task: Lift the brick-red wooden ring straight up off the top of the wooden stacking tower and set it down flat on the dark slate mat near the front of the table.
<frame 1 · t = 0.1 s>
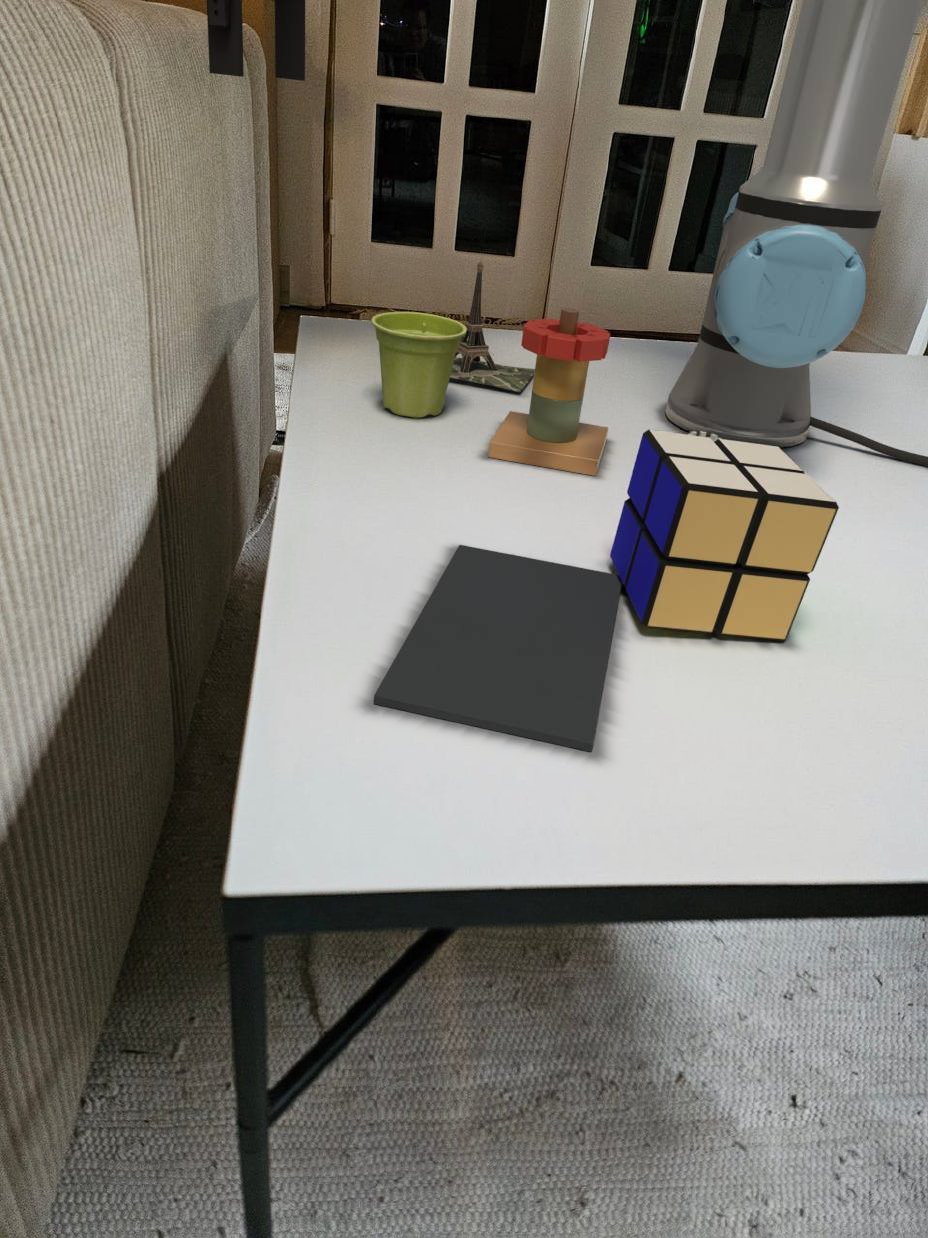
hand: (260, 77, 82), 28 cm above the table, tool pointing down, fingers open, 13 cm apart
slate mat: (514, 635, 57), on the table
puzzle cube: (691, 601, 63), on the table, touching slate mat
rook chess piece: (681, 533, 73), on the table
red ring: (564, 349, 82), point 9 cm above the table, touching stack tower
stack tower: (549, 449, 87), on the table
plant pot: (413, 410, 94), on the table
eiffel tower figurine: (466, 375, 107), on the table
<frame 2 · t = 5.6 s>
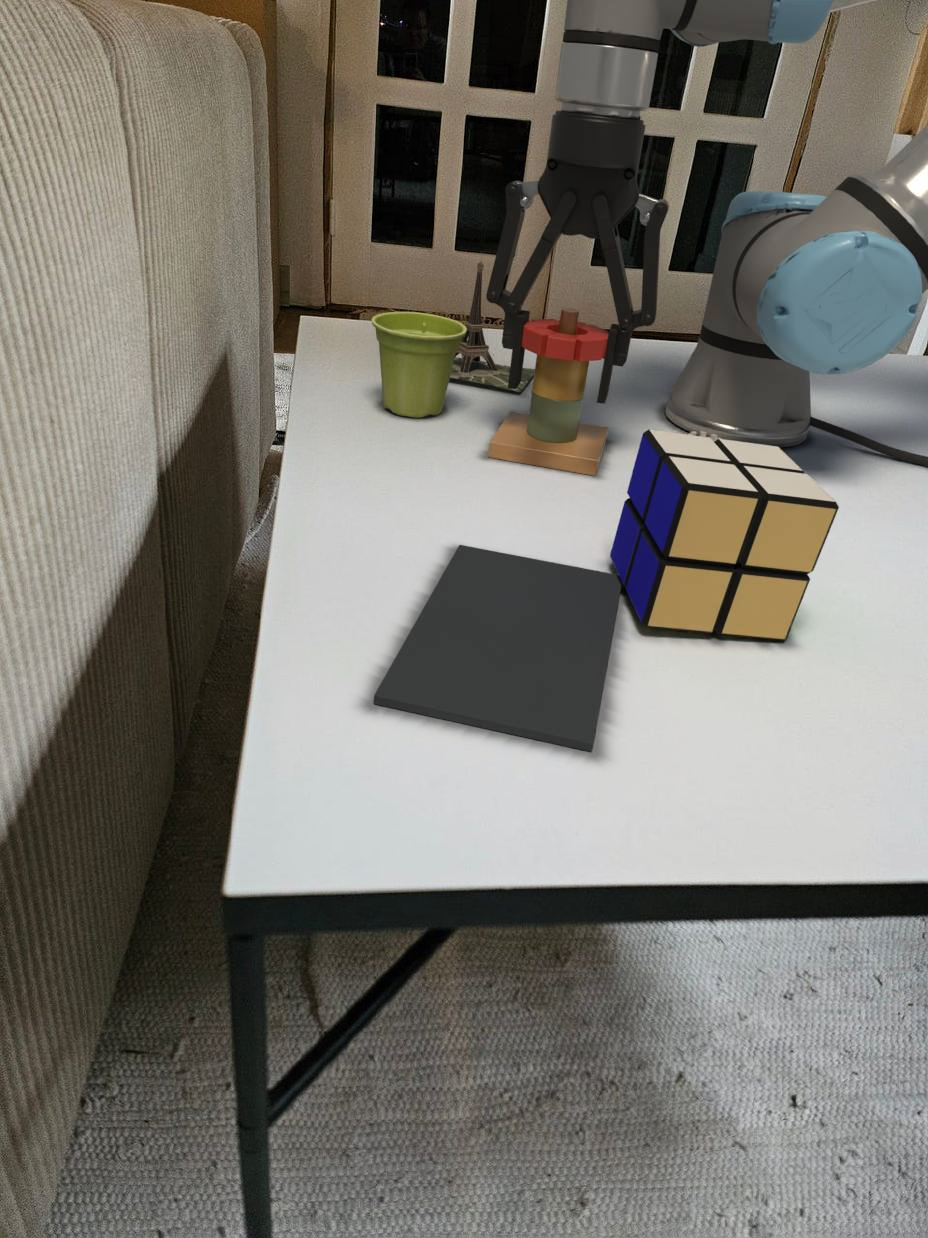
hand: (558, 391, 84), 6 cm above the table, tool pointing down, fingers closed on red ring, 8 cm apart
red ring: (564, 349, 82), point 10 cm above the table, touching gripper, stack tower
everything else where it was.
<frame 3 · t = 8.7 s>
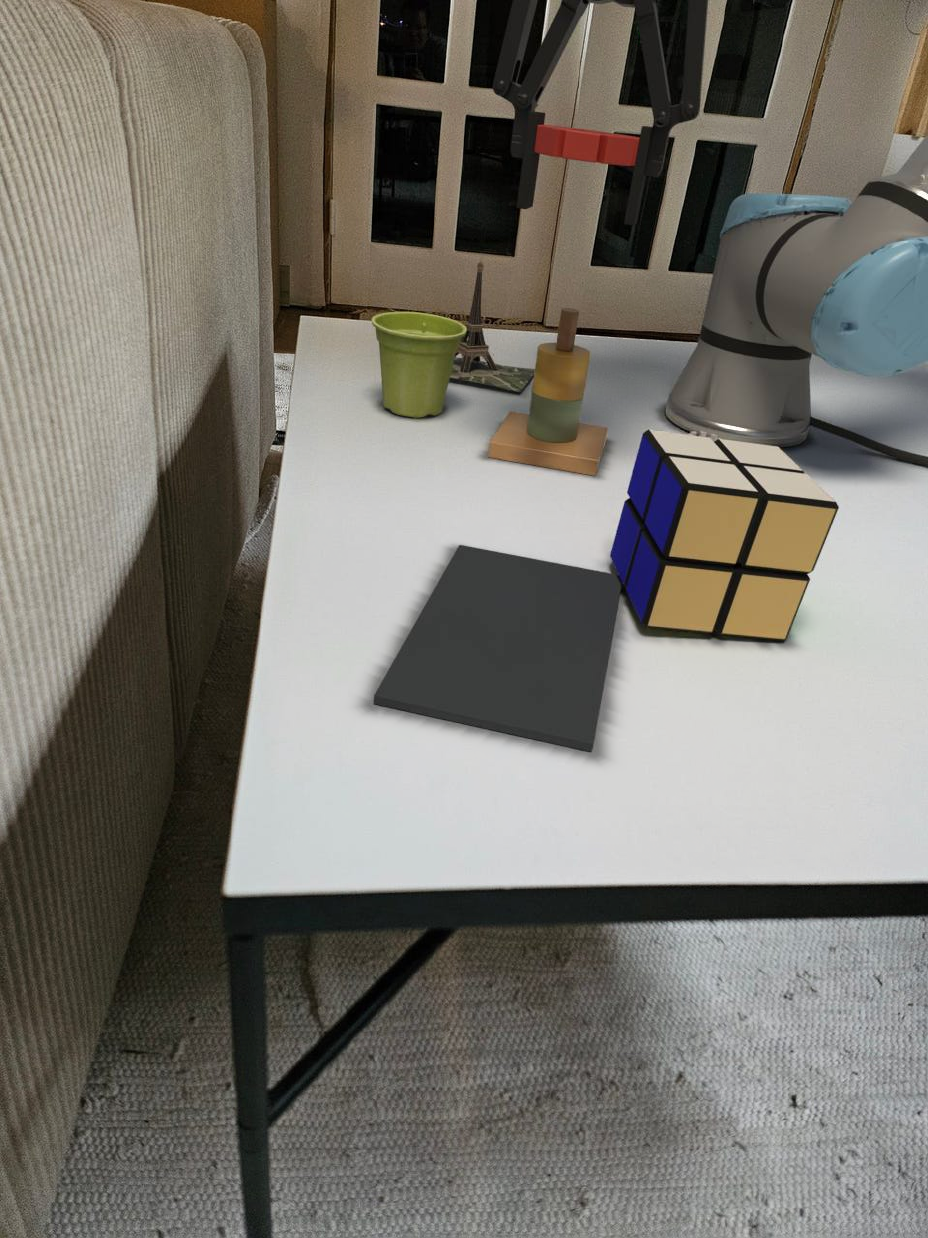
hand: (577, 214, 70), 22 cm above the table, tool pointing down, fingers closed on red ring, 8 cm apart
red ring: (586, 158, 68), point 25 cm above the table, touching gripper
everything else where it was.
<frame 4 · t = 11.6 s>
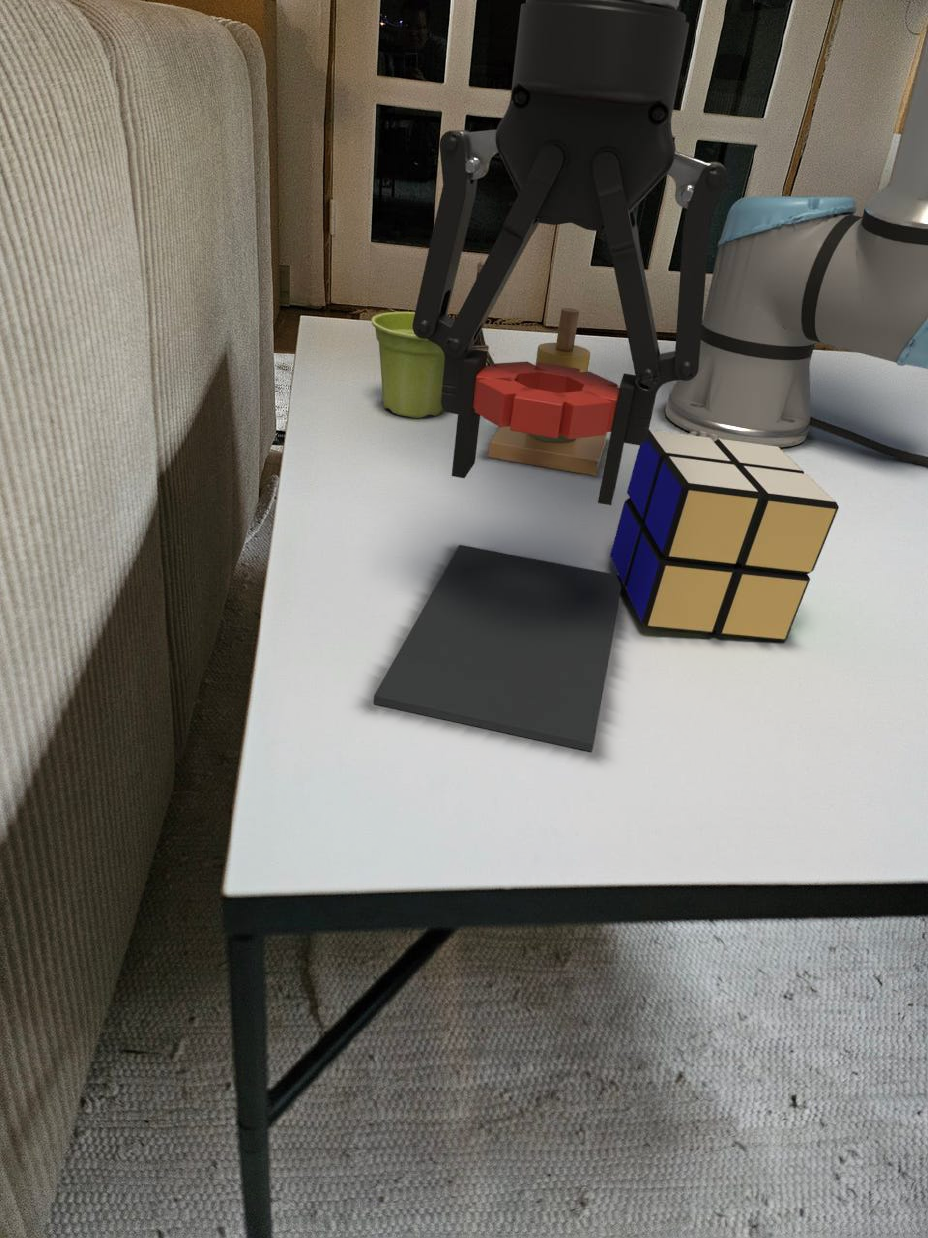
hand: (534, 481, 52), 10 cm above the table, tool pointing down, fingers closed on red ring, 8 cm apart
red ring: (544, 414, 50), point 14 cm above the table, touching gripper
everything else where it was.
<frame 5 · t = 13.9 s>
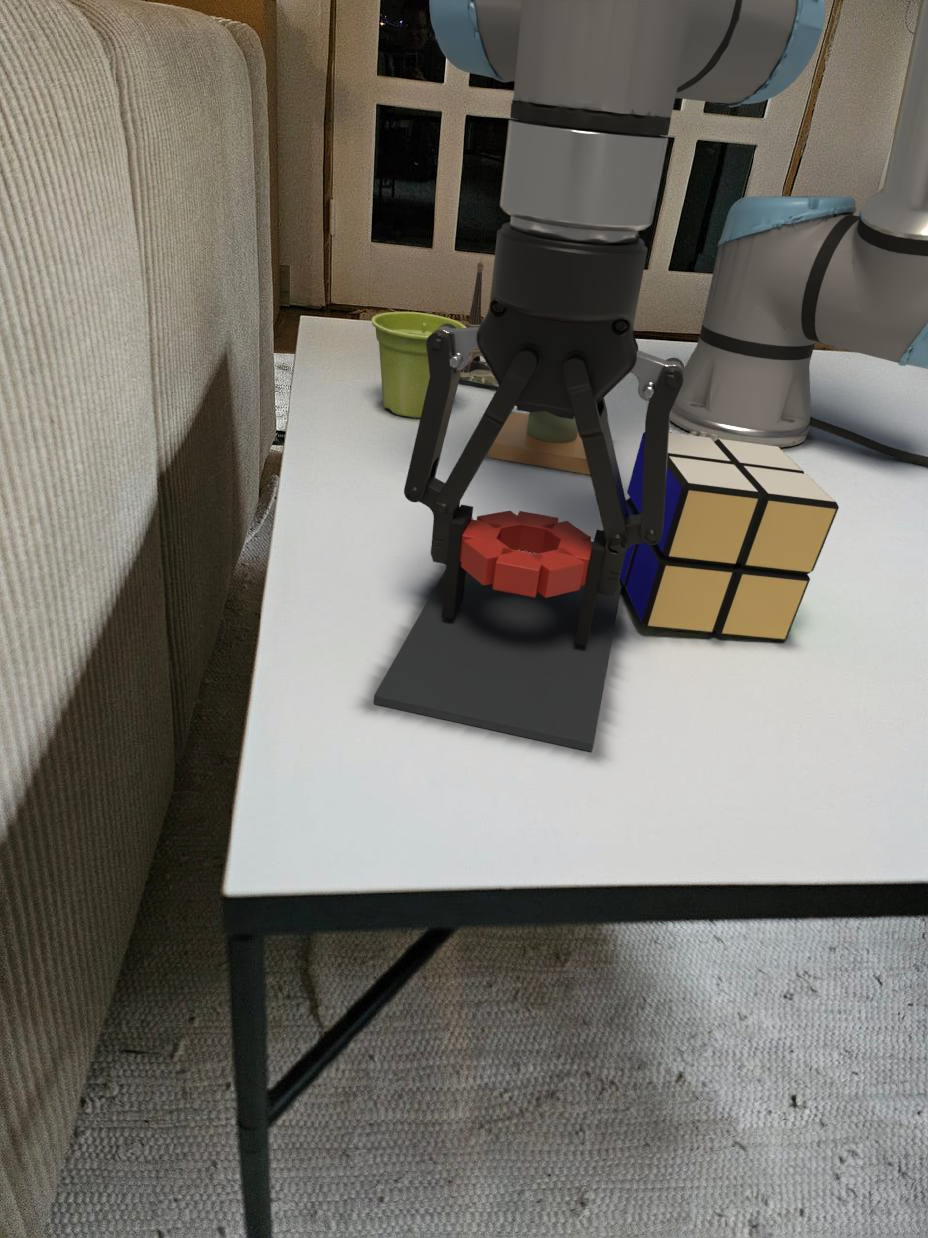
hand: (517, 620, 57), 1 cm above the table, tool pointing down, fingers closed on red ring, 8 cm apart
red ring: (525, 565, 55), point 5 cm above the table, touching gripper
everything else where it was.
when the fingers open (1 cm above the table, at t = 17.4 s): red ring drops 4 cm, resting on slate mat.
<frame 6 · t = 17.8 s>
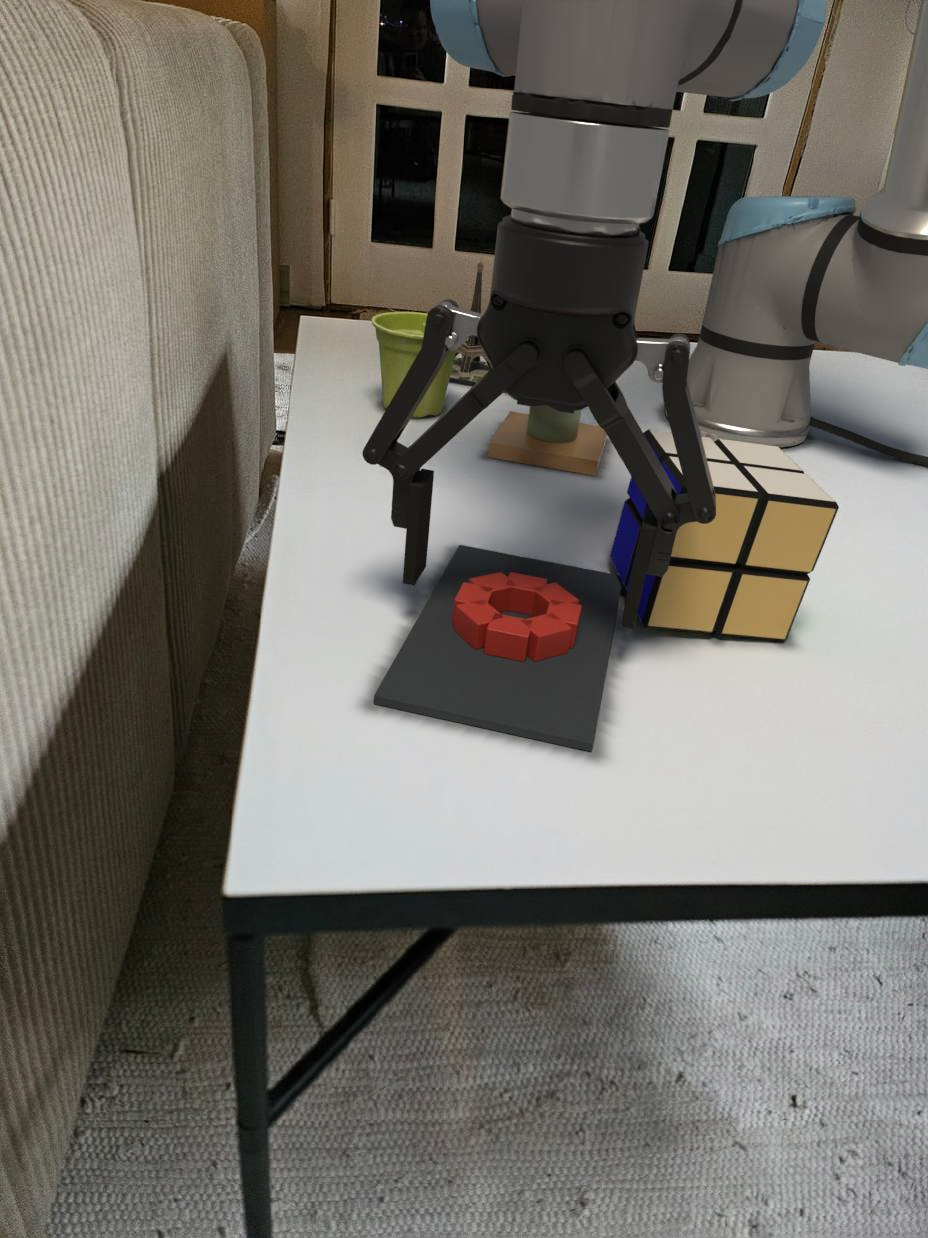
hand: (519, 596, 56), 3 cm above the table, tool pointing down, fingers open, 13 cm apart
red ring: (515, 627, 57), point 1 cm above the table, touching slate mat
everything else where it was.
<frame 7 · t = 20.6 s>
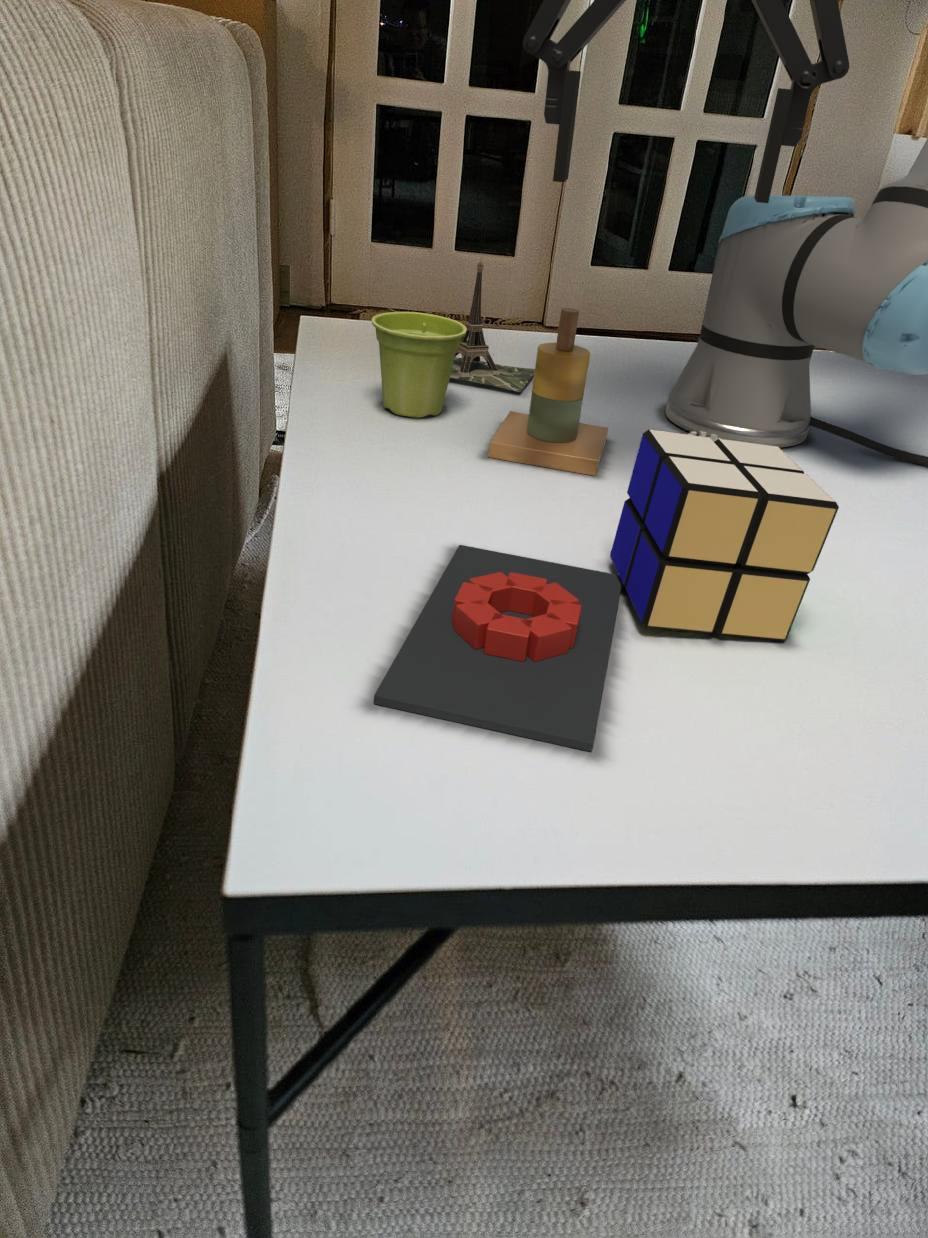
hand: (659, 190, 62), 24 cm above the table, tool pointing down, fingers open, 13 cm apart
nothing on the table moved.
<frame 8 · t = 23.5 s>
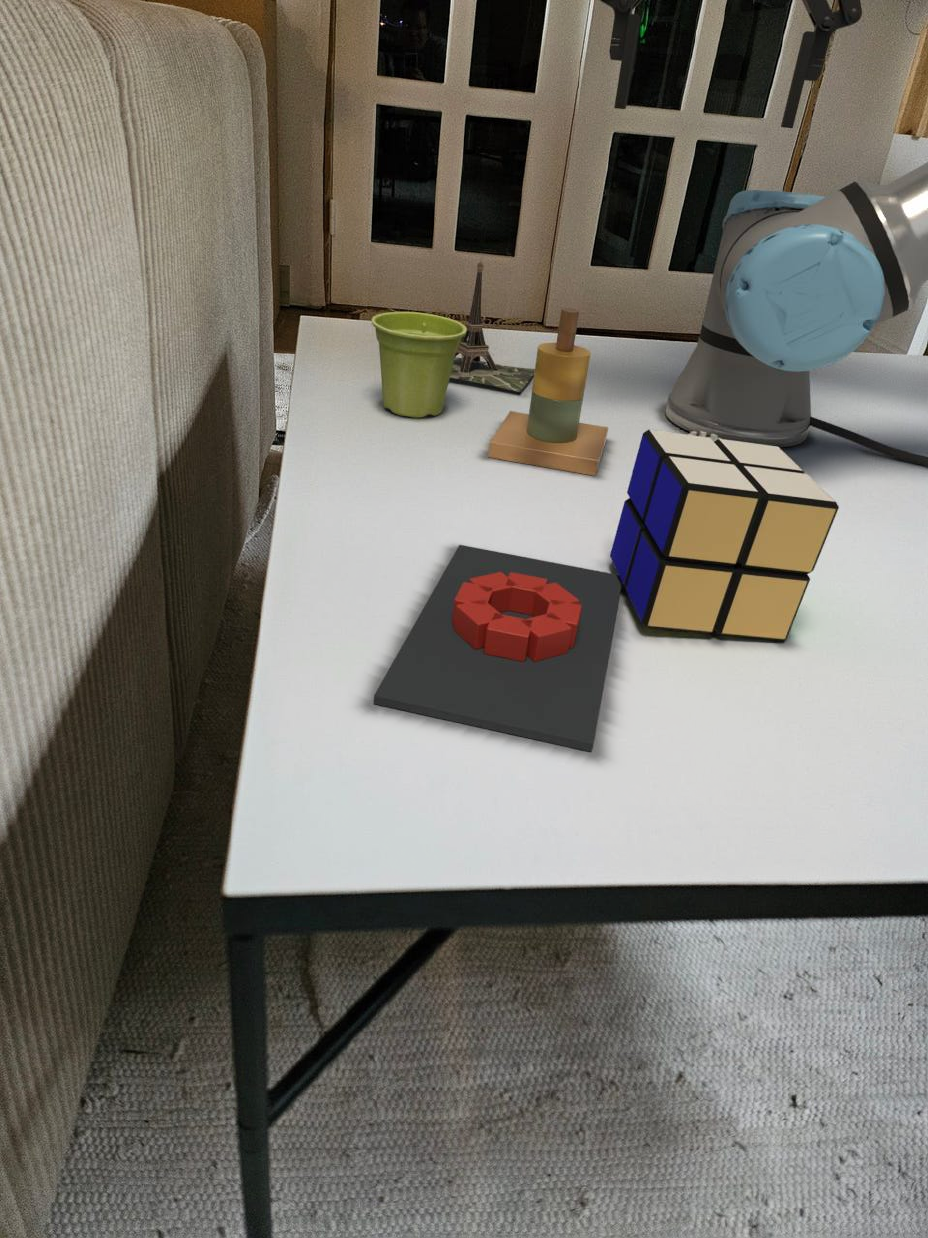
hand: (702, 118, 75), 29 cm above the table, tool pointing down, fingers open, 13 cm apart
nothing on the table moved.
at the end: red ring inside the target area on the slate mat (0.0 cm from its centre), point 0.6 cm above the slate mat's base; red ring tilted 0°; the gripper is holding nothing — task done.
